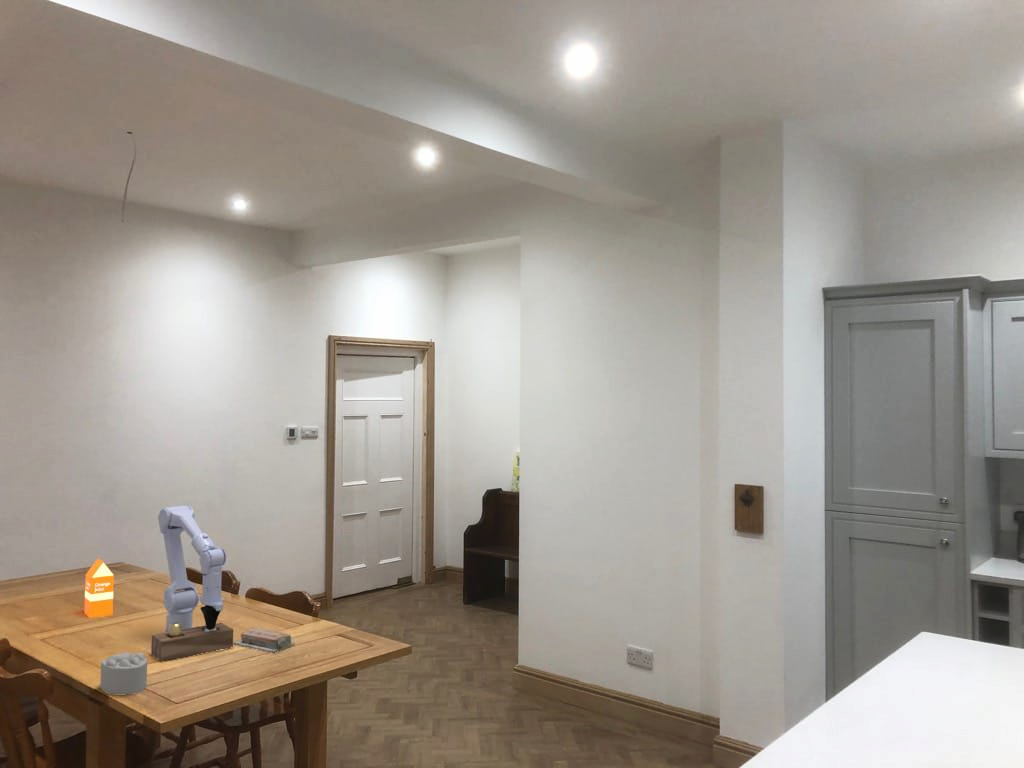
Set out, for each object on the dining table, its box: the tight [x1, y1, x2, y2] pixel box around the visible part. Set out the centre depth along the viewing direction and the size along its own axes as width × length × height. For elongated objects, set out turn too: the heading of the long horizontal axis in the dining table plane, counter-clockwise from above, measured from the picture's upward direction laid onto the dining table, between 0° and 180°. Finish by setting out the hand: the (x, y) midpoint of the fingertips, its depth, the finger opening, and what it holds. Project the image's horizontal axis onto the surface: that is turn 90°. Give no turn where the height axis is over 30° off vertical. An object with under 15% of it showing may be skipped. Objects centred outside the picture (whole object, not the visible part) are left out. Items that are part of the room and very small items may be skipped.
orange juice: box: [84, 558, 115, 619], centre depth 286 cm, size 8×9×20 cm
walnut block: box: [150, 622, 234, 662], centre depth 245 cm, size 10×22×6 cm, turn 132°
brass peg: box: [169, 622, 182, 638], centre depth 241 cm, size 4×4×6 cm
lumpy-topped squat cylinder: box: [99, 651, 148, 695], centre depth 212 cm, size 10×13×9 cm
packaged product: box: [233, 627, 296, 654], centre depth 252 cm, size 18×5×10 cm
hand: (210, 628), depth 248 cm, fingers closed, pressing on grey metal peg
